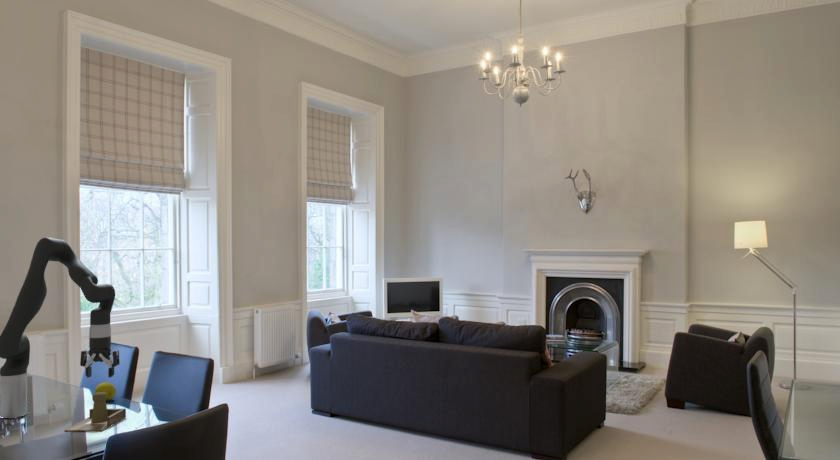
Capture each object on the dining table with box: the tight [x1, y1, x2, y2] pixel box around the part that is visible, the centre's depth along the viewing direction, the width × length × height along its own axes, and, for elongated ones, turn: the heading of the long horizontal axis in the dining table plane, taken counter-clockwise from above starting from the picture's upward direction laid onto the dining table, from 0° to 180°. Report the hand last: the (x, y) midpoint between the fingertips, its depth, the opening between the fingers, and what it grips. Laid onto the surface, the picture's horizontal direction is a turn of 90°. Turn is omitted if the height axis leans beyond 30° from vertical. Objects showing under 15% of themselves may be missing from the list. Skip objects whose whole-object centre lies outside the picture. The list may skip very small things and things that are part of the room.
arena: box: [64, 408, 127, 433], centre depth 238 cm, size 14×18×4 cm
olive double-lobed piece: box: [91, 392, 108, 423], centre depth 240 cm, size 6×6×11 cm
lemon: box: [94, 381, 117, 402], centre depth 274 cm, size 11×8×8 cm
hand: (99, 377), depth 240 cm, fingers open, 8 cm apart
